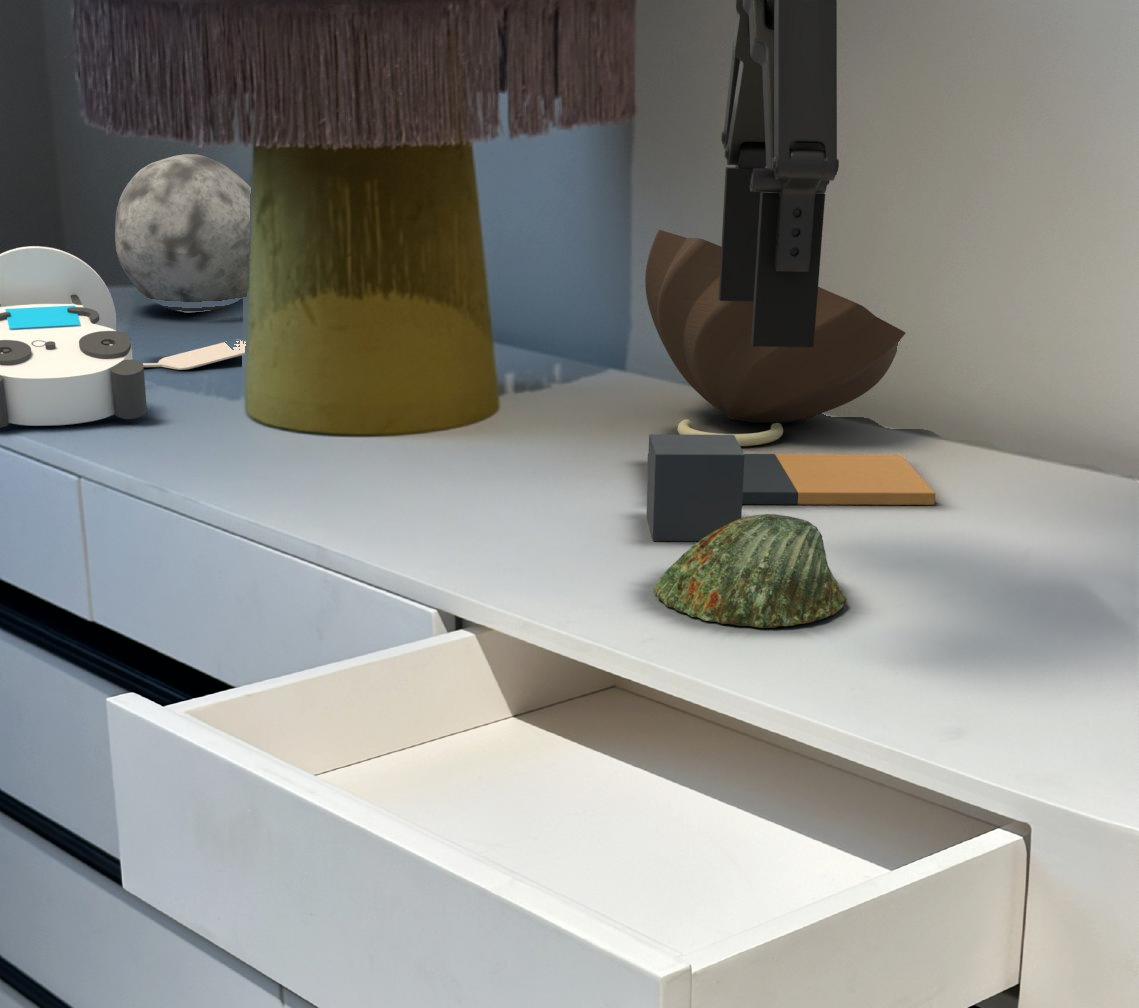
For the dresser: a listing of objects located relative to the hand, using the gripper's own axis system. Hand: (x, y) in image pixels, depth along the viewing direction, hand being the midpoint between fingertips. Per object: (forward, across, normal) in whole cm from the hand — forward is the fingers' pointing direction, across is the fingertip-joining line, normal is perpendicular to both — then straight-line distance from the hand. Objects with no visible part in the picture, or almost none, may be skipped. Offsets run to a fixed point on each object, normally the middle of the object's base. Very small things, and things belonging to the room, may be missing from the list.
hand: (762, 322), depth 81 cm
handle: (+13, -33, +3) cm, 35 cm away
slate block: (+14, -12, -2) cm, 18 cm away
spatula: (+14, -58, -48) cm, 76 cm away
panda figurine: (+8, -51, -48) cm, 71 cm away
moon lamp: (+7, -83, -47) cm, 95 cm away
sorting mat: (+14, -23, +5) cm, 27 cm away
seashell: (+14, 0, 0) cm, 14 cm away
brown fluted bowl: (+4, -42, +7) cm, 43 cm away
